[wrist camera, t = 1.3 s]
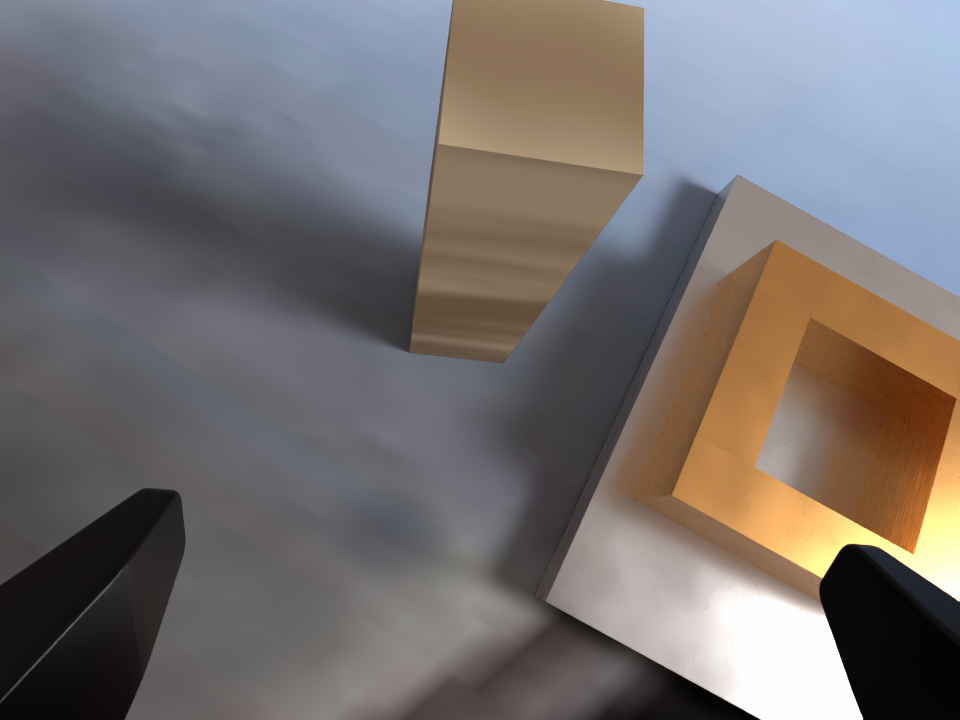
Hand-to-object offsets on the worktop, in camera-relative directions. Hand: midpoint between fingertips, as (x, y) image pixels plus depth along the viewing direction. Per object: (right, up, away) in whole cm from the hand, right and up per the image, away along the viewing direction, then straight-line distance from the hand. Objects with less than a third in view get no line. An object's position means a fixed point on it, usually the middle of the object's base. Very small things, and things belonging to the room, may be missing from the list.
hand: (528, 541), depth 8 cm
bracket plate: (+11, -1, +15) cm, 19 cm away
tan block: (-1, +4, +15) cm, 16 cm away
